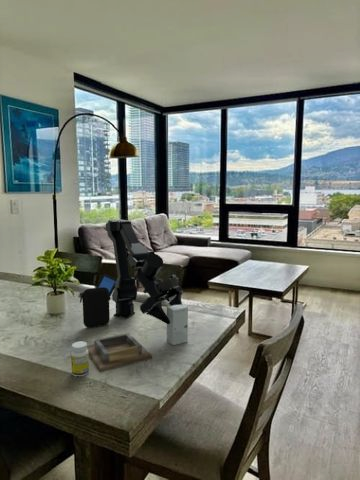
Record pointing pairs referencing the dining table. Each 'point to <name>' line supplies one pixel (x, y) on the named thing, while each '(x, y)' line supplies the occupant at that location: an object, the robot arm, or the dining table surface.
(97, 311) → the carrying case or bag
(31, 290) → the dining table surface
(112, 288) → the game console
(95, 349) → the sleeve holder
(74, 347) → the supplement bottle
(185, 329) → the skincare box
